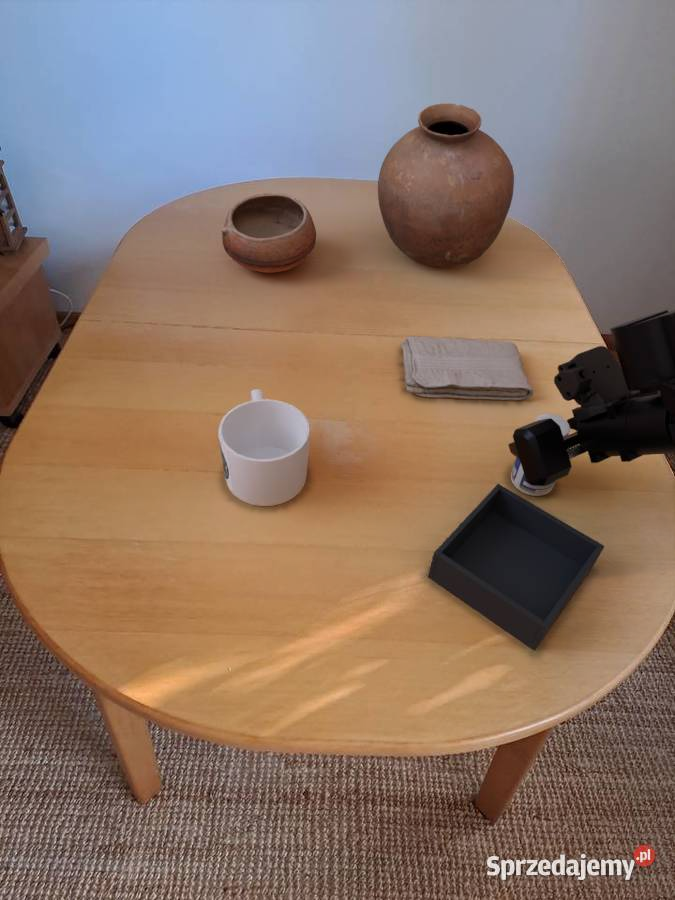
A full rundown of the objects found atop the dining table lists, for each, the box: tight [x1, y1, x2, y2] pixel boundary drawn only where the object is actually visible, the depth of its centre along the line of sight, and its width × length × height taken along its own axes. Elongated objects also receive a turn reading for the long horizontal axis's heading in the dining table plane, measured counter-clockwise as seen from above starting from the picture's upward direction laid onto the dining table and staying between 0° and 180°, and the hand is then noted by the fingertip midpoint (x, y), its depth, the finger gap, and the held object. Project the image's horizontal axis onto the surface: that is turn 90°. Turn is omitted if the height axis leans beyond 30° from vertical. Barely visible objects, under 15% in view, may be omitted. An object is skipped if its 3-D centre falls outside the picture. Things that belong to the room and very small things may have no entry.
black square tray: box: [427, 483, 605, 652], centre depth 72 cm, size 13×13×4 cm
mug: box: [217, 388, 311, 507], centre depth 80 cm, size 13×10×8 cm
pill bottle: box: [510, 413, 571, 497], centre depth 81 cm, size 5×5×10 cm
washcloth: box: [400, 335, 534, 401], centre depth 97 cm, size 12×18×3 cm, turn 91°
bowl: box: [221, 192, 317, 273], centre depth 114 cm, size 16×16×10 cm
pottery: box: [377, 103, 515, 267], centre depth 114 cm, size 23×23×25 cm
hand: (540, 435), depth 80 cm, fingers open, 9 cm apart
